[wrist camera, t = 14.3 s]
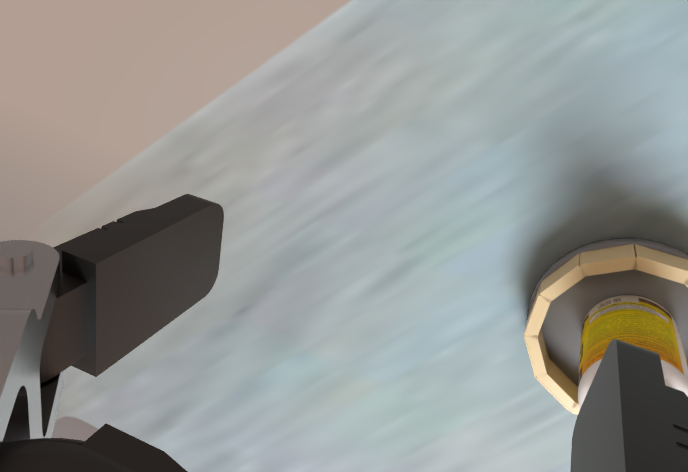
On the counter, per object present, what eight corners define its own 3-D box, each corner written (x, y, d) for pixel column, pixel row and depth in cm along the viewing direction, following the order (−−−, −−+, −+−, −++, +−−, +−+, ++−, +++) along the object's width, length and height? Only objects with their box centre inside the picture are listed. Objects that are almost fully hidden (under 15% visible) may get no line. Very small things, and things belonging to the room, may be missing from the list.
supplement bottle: (567, 306, 38) (557, 395, 30) (657, 280, 36) (676, 369, 27) (601, 378, 39) (601, 486, 30) (692, 358, 36) (722, 470, 28)
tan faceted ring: (561, 214, 38) (558, 229, 35) (770, 274, 34) (784, 296, 32) (506, 365, 43) (501, 388, 40) (685, 430, 39) (691, 460, 37)
